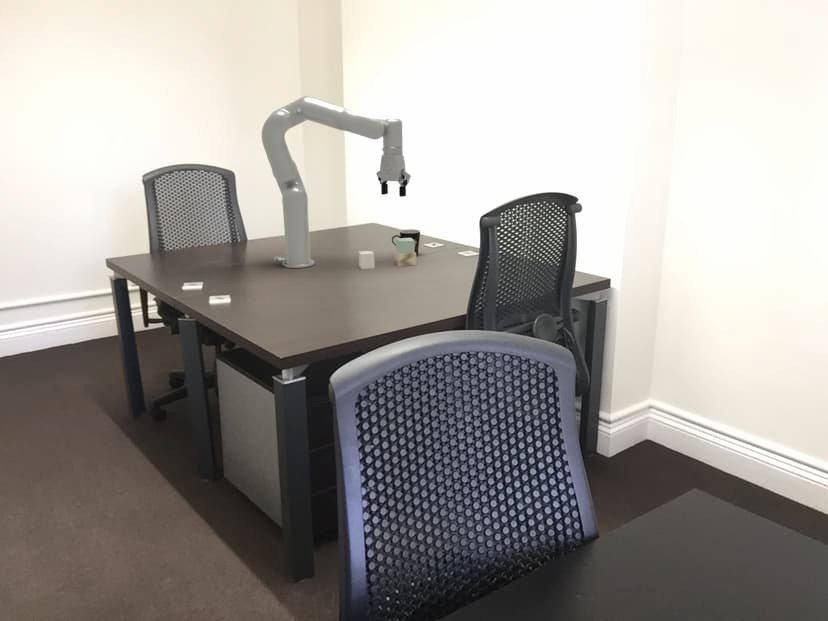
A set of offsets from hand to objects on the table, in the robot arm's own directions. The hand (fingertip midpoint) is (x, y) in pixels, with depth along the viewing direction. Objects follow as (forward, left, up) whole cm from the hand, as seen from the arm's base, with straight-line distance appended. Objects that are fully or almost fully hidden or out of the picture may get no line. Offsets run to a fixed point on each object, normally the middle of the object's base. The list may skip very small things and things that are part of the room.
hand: (393, 195), depth 290 cm
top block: (-14, -9, -26) cm, 31 cm away
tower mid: (+2, -8, -22) cm, 23 cm away
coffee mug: (+7, +8, -27) cm, 29 cm away
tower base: (+2, -8, -27) cm, 28 cm away
